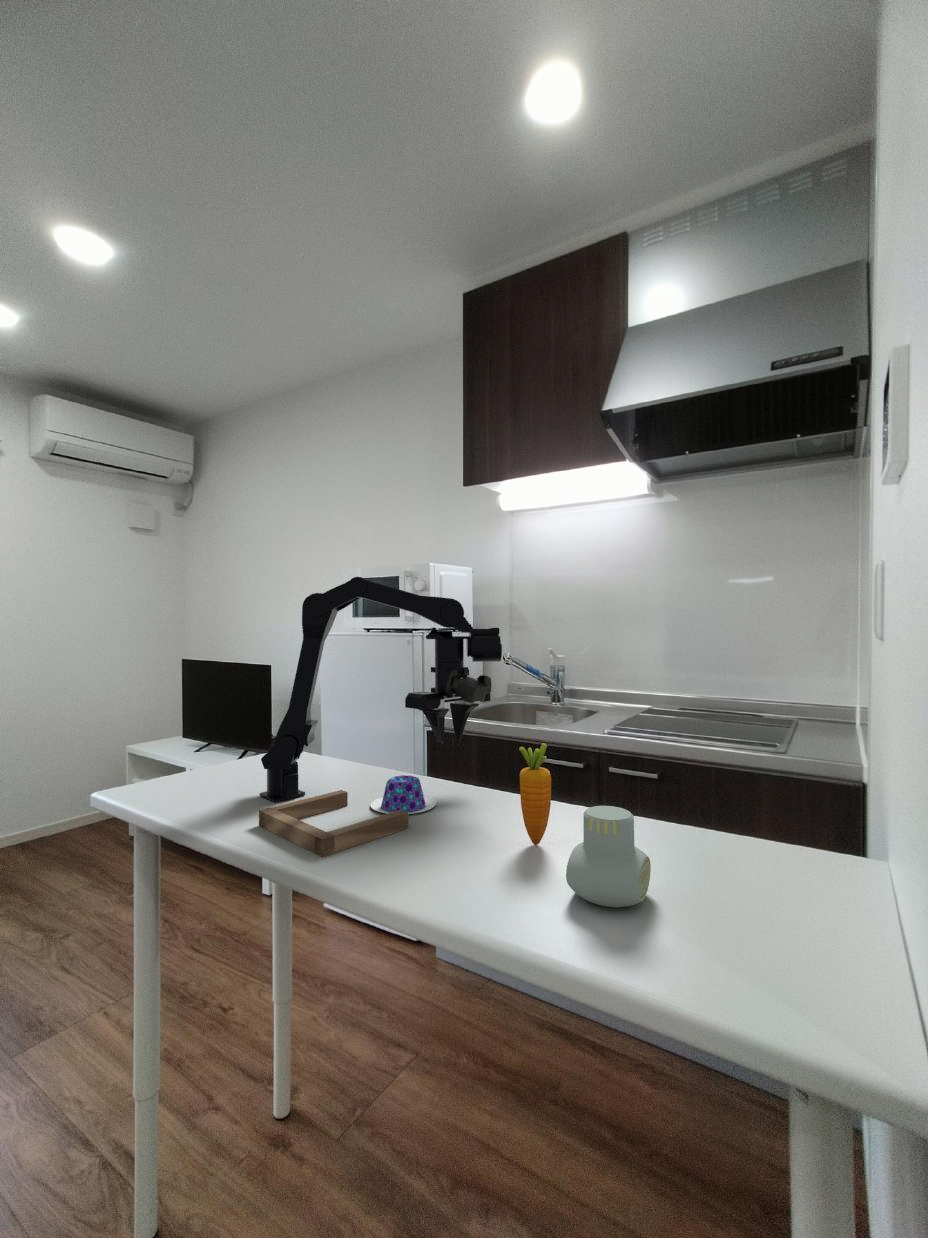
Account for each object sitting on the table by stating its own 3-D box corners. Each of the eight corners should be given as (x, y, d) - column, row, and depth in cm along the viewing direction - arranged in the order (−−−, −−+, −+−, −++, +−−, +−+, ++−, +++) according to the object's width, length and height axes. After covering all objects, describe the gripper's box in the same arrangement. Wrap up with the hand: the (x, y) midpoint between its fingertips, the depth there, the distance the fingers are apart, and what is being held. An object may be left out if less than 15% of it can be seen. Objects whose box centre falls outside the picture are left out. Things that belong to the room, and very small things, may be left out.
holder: (258, 825, 93) (258, 810, 93) (341, 803, 104) (341, 790, 104) (322, 857, 80) (322, 839, 80) (408, 827, 91) (408, 812, 91)
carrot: (513, 848, 83) (513, 745, 83) (526, 837, 87) (525, 739, 87) (546, 854, 80) (545, 748, 81) (557, 842, 85) (556, 742, 85)
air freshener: (634, 926, 61) (633, 832, 61) (561, 908, 65) (560, 820, 65) (653, 885, 70) (652, 805, 70) (588, 872, 74) (587, 796, 75)
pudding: (361, 817, 98) (361, 786, 98) (380, 796, 110) (380, 769, 110) (429, 820, 96) (429, 789, 96) (441, 799, 108) (441, 771, 108)
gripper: (444, 666, 100) (444, 754, 99) (510, 661, 113) (511, 739, 113) (403, 663, 107) (403, 746, 107) (470, 659, 121) (470, 732, 121)
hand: (449, 741), depth 112 cm, fingers open, 5 cm apart
